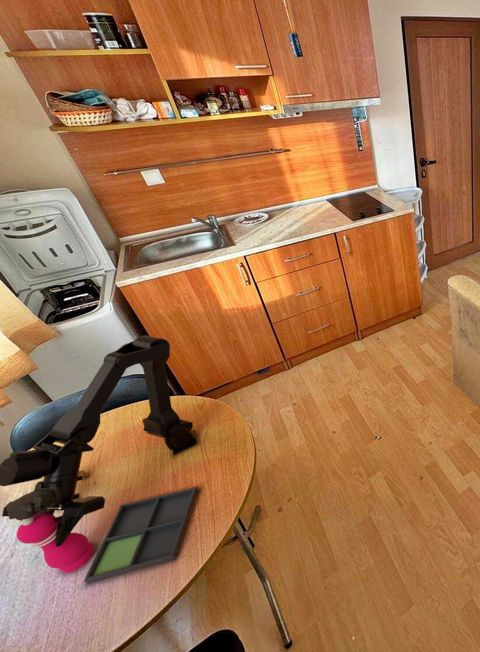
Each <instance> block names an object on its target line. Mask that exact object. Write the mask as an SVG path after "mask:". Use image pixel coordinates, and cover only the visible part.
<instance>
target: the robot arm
mask: <svg viewBox="0 0 480 652" xmlns="http://www.w3.org/2000/svg"><path fill="white" fill-rule="evenodd" d="M170 353H171V345H170V342H169V340H167V339H164V338H161V337H156V336H150V335H141V336H138V337H137V338H136V339H135V340H132V341H130V342H128V343H125V344H123V345H121V346H120V347H119V348H118V349H117V350H114V351H112V352H109V353H107V354H106V355H105V356H104V358H103V363H102V364H101V366H100V367H99V369H98V370H97V372H96V373H95V375H94V377H93V378H92V380H91V381H90V383H89V385H88V386H87V388H86V389H85V391H84V392H83V394H82V396H81V397H80V399H79V401H78V402H77V403H76V405H74V407H73V408H72V409H70V410H69V411H67V412H66V413H64V414H63V415H62V416H61V418H60V419H59V420H58V421H57V422H56V423H55V424H54V426H53V427H52V428H51V430H50V431H49V432H48V433H46V435H44V437H42V438H41V439H40V440H39V441H38V442H37V443H35V444H34V445H33V446H32V449H31V450H24V451H23V450H22V451H21V450H18V451H12V452H10V455H9V457H7V458H5V459H4V460H3V461H2V462H0V487H8V486H12V485H17V484H18V485H19V484H23V483H27V482H28V483H29V482H32V481H36V480H40V479H43V480H41V481H37V483H36V484H35V486H34V489H33V490H31V491H30V492H28V493H26V494H23V495H22V496H20V497H18V498H16V499H15V500H12V501H9V502H8V503H7V504H6V505H5V506H4V507H3V509H2V513H1V517H8V519H9V520H17V521H20V522H22V520H23V519H28V518H31V517H33V516H34V515H36V514H40V513H50V514H52V515H54V514H55V511H63V512H62V514H61V515H59V516H55V517H56V518H53V520H55V521H56V522H57V523H58V526H57V533H56V541H55V546H56V547H58V546H61V545H62V544H63V543H64V541H65V540H66V538H67V537H68V535H69V534H70V533H72V532H73V530H74V529H75V528H76V525H78V524H79V522H80V521H81V520H82V518H83V517H84V516H86V515H89V514H92V513H94V512H98V511H99V510H102V509H104V508H105V503H106V498H105V497H103V496H102V495H100V496H99V495H88V496H85V497H82V498H80V495H81V494H80V493H76V489H77V485H78V482H80V481H83V479H84V478H83V476H82V475H80V476H78V474H79V471H80V468H81V463H82V457H83V453H86V452H92V451H94V449H95V448H94V447H93V446H91V445H90V444H89V443H91V442H92V441H93V439H94V438H95V437H96V435H97V432H98V430H99V427H100V425H101V413H102V411H103V409H104V407H105V406H106V404H107V402H108V401H109V398H110V397H111V395H112V394H113V392H114V390H115V389H116V387H117V385H118V384H119V382H120V380H121V379H122V378H123V375H124V374H125V372H126V370H127V369H128V368H131V367H133V366H136V365H140V366H141V368H142V370H143V375H144V381H145V387H146V392H147V398H148V405H149V410H150V412H149V413H148V415H147V417H145V418H142V424H143V432H146V433H147V434H148V435H150V436H154V437H158V438H162V439H163V440H164V444H165V446H166V447H167V448H168V449H169V451H172V455H174V456H175V455H178V454H179V453H182V452H184V451H186V450H188V449H190V448H192V447H194V446H196V445H197V444H198V440H197V434H196V431H195V430H193V429H194V426H193V425H194V424H193V421H188V420H185V419H181V418H180V416H179V414H178V413H177V412H176V410H175V409H174V408H173V407H172V401H171V395H170V394H171V393H170V388H169V382H168V375H167V370H166V364H167V362H168V360H169V358H170V356H171V354H170ZM55 443H58V444H61V445H58V444H55ZM74 499H78V500H75V501H73V500H74ZM60 505H62V506H60Z"/></svg>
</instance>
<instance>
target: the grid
mask: <svg viewBox="0 0 480 652" xmlns="http://www.w3.org/2000/svg"><path fill="white" fill-rule="evenodd" d="M198 493H199V489H198V488H197V486H196V487H195V486H194V487H191V488H187V489H182V490H178V491H174V492H170V493H166V494H162V495H158V496H152V497H149V498H144V499H140V500H137V501H136V500H135V501H131V502H127V503H124V504H121V505H120V506H119V508H118V510H117V512H116V514H115V516H114V518H113V521H112V522H111V524H110V527H109V529H108V530H107V533H106V535H105V537H104V539H103V541H102V543H101V545H100V547H99V549H98V551H97V552H96V555H95V557H94V559H93V561H92V563H91V565H90V567H89V569H88V570H87V573H86V576H85V578H84V579H83V582H85V583H86V584H88V585H90V584H93V583H97V582H100V581H104V580H107V579H111V578H115V577H118V576H122V575H125V574H128V573H129V574H130V573H133V572H136V571H137V572H138V571H140V570H143V569H144V570H145V569H148V568H151V567H154V566H158V565H162V564H165V563H169V562H172V561H175V560H176V559H177V556H178V553H179V550H180V547H181V545H182V541H183V539H184V535H185V532H186V530H187V527H188V524H189V521H190V517H191V514H192V510H193V508H194V505H195V502H196V499H197V496H198Z"/></svg>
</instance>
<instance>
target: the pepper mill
mask: <svg viewBox="0 0 480 652" xmlns="http://www.w3.org/2000/svg"><path fill="white" fill-rule="evenodd" d="M56 517H57V516H55V515H54V514H53V515H52V514H50V513H40V514H36V515H34V516H33V517H31V518H28V519H23V520H22V521H20V525H19V527H18V528H17V530H16V535H15V536H16V539H17V540H18V541H19V542H20V543H22V544H26V545H27V544H29V545H31V546H32V547H34V548H40V549H41V550H42V552H43V558H44V561H45V564H46V565H47V566H49V567H50V568H52V569H59V571H61V572H62V573H72V572H75V571H76V570H79V569H80V568H82V567H84V566H85V565H86V563H88V562H89V560H90V559H91V558H92V556H93V554H94V551H95V547H94V545H93V544H92V543H90V542H89V539H88V536H86V535H85V534H82V533H79V532H71V533H70V534H69V535H68V537H67V538H66V540H65V541H64V543H63V544H62V545H61V546H58V547H56V546H55V541H56V533H57V526H58V523H57V522H56V521H55V520H53V518H56Z"/></svg>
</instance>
